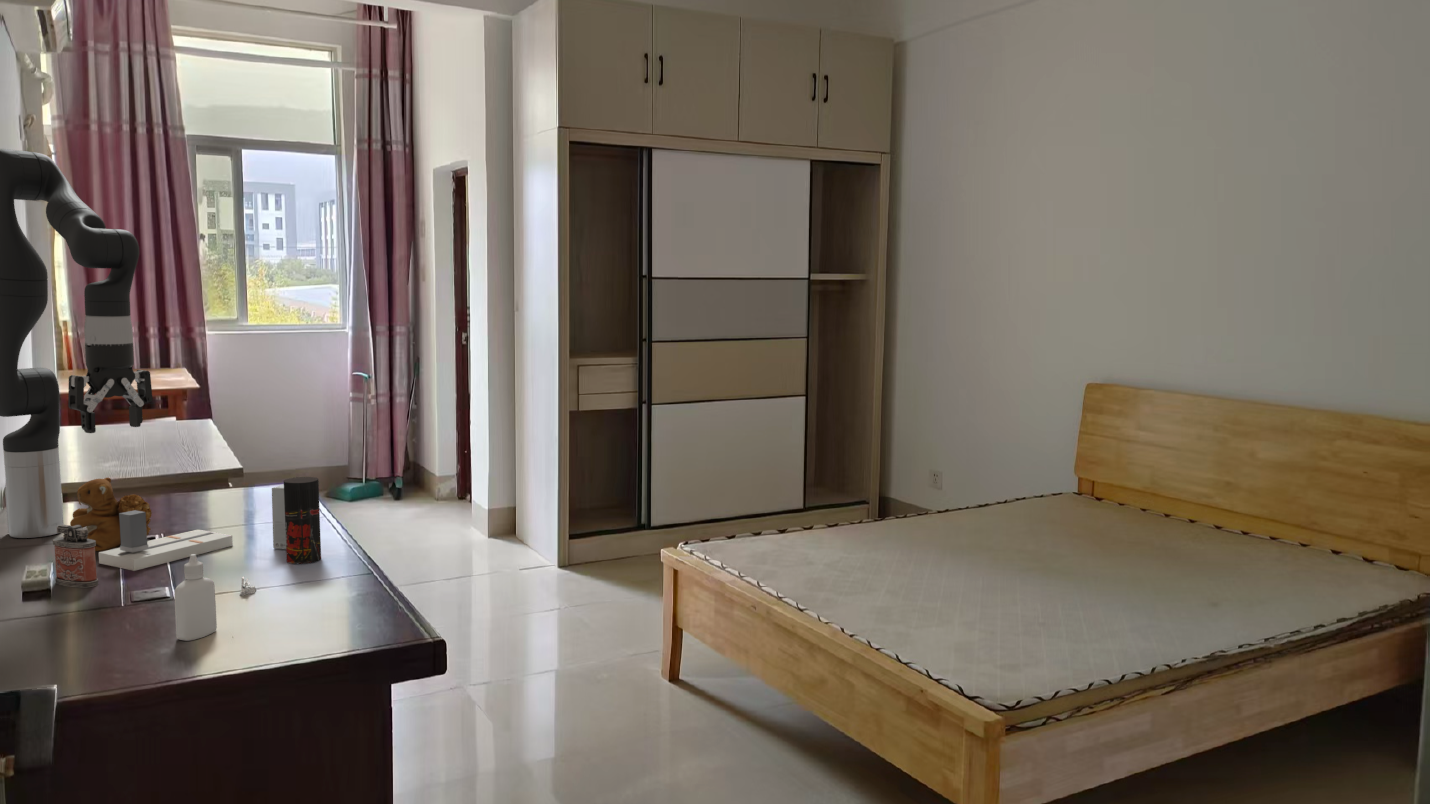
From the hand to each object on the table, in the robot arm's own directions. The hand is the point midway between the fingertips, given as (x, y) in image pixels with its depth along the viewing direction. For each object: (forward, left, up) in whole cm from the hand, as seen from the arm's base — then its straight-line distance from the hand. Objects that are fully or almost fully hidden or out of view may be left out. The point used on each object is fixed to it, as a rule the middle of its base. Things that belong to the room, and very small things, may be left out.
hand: (112, 429), depth 188 cm
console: (+5, +6, -24) cm, 25 cm away
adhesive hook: (+40, -3, -25) cm, 47 cm away
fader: (+5, -1, -22) cm, 22 cm away
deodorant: (+30, +15, -24) cm, 42 cm away
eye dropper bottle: (+49, -21, -24) cm, 59 cm away
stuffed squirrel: (-10, +5, -24) cm, 27 cm away
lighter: (+9, -14, -24) cm, 29 cm away
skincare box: (+20, +21, -24) cm, 38 cm away
